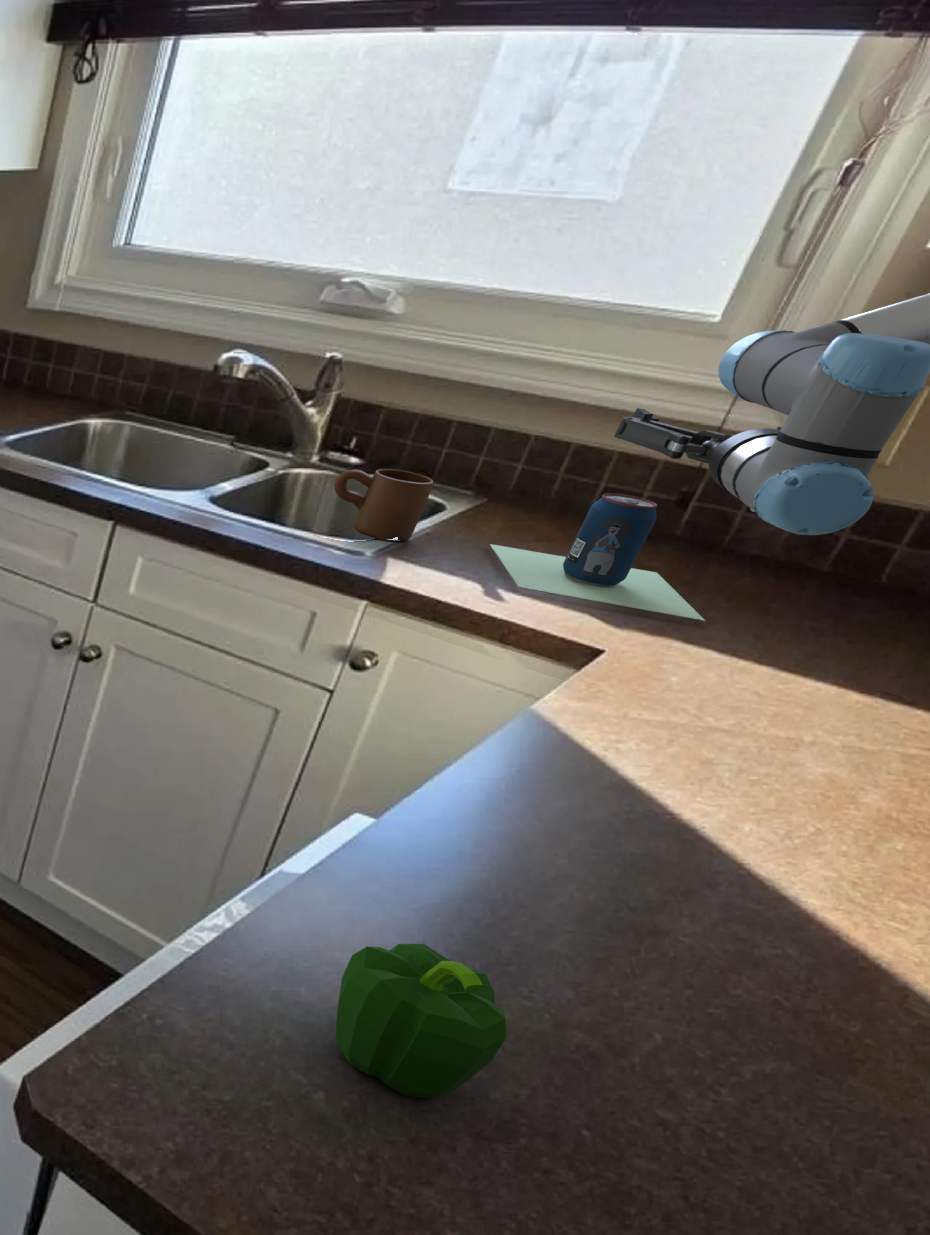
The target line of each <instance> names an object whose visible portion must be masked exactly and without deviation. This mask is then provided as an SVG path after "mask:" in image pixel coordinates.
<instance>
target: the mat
mask: <svg viewBox="0 0 930 1235" xmlns="http://www.w3.org/2000/svg"><path fill="white" fill-rule="evenodd" d="M489 546H490V547H491V548H492V550H493V551H494V553H495V555H496V556H497V558H498V559H499V560H500V562H501V563H502V565H503V567H504V568H505V570H506V571H507V572H508V574H509V575H510V577H511V579H513V581H514V583H515V584H516V585H517V587H518V588H521V589H525V590H526V589H527V590H531V591H536V592H543V593H549V595H550V594H551V595H560V596H565V597H569V598H574V599H575V598H576V599H580V600H587V601H593V602H597V603H603V604H609V605H614V606H620V607H626V608H630V609H631V608H632V609H637V610H642V611H647V612H651V613H659V614H665V615H670V616H675V617H680V618H686V619H690V620H691V619H692V620H697V621H702V622H706V620H705V619H704V617H703V616H701V615H700V614H699V612H698V611H697V610H695V609H694V607H692V606H691V605H690V603H688V602H687V601H686V599H684V597H682V596H681V595H680V594H679V593H678V592H677V590H675V589H674V588H673V587H672V586H671V585H670V583H669V582H667V581H666V580H665V579H664V578H663V577H662V576H661V575H660V574H659V572H656V571H651V570H644V569H638V568H633V567H631V569H630V571H629V573H628V575H627V577H626V579H625V580H623V581H622V582H620V583H619V584H617V585H615V586H613V587H600V586H594V585H589V584H585V583H581V582H578V581H575V580H573V579H571V578H569V577H567V576H566V575H565V572H564V568H563V563H564V561H565V559H566V557H567V556H564V555H563V556H562V555H556V554H551V553H544V552H539V551H532V550H527V549H521V548H516V547H509V546H505V545H504V546H503V545H498V544H491V543H490V544H489Z"/></svg>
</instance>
